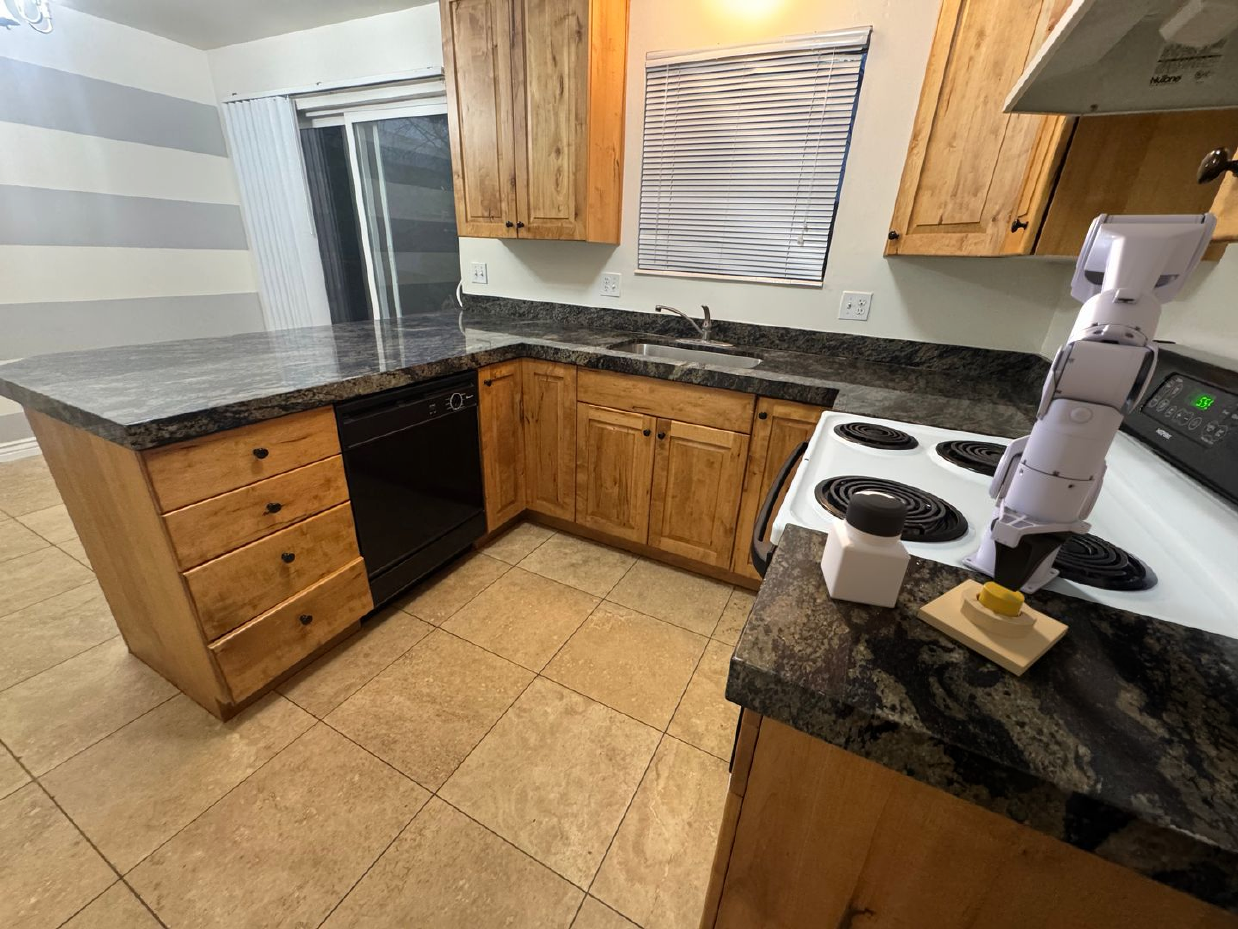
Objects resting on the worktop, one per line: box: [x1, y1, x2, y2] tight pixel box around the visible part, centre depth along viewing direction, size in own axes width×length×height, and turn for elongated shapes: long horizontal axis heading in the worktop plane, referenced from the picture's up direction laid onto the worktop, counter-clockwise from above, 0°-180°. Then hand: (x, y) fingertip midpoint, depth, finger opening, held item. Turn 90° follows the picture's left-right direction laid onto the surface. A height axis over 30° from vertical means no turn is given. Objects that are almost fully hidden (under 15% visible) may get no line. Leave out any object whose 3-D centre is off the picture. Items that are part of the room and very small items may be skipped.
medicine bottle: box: [820, 490, 912, 609], centre depth 58 cm, size 7×7×12 cm
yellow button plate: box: [916, 578, 1069, 677], centre depth 55 cm, size 12×10×3 cm
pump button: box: [978, 581, 1026, 617], centre depth 54 cm, size 4×4×2 cm
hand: (1006, 585), depth 53 cm, fingers closed
